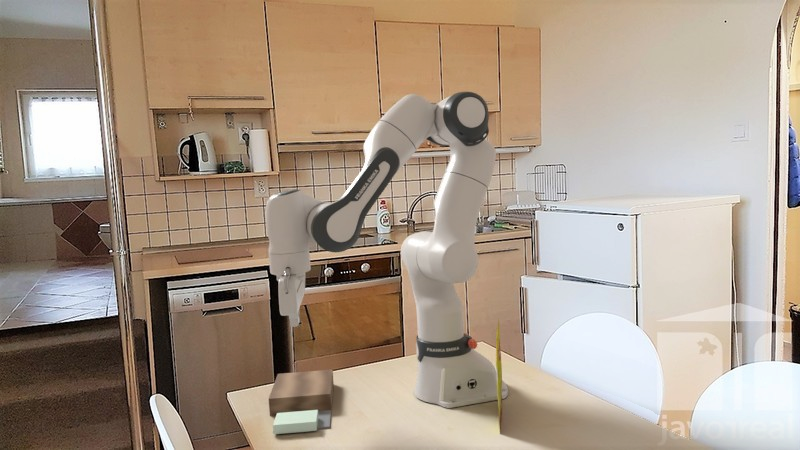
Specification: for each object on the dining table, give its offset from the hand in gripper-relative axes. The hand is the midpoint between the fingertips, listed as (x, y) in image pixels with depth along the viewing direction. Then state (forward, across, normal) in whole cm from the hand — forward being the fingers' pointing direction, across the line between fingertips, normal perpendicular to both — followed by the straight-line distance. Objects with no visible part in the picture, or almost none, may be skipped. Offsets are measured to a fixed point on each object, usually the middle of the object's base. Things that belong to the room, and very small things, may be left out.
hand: (295, 325), depth 127 cm
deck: (+21, +10, +1) cm, 23 cm away
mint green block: (+19, -6, +1) cm, 20 cm away
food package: (+22, -10, -43) cm, 49 cm away
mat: (+21, -3, 0) cm, 21 cm away
